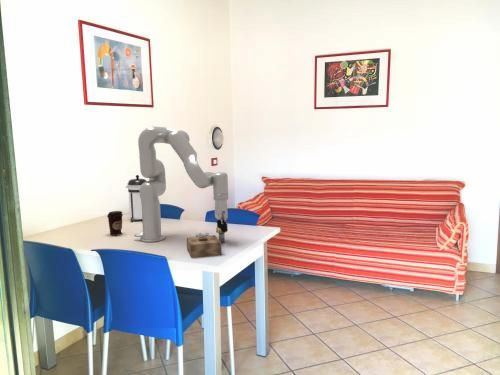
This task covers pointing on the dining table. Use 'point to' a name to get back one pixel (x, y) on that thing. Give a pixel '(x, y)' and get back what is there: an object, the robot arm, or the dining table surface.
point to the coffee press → (135, 198)
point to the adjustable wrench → (202, 234)
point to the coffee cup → (115, 222)
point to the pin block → (203, 246)
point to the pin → (220, 234)
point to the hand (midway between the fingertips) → (222, 229)
